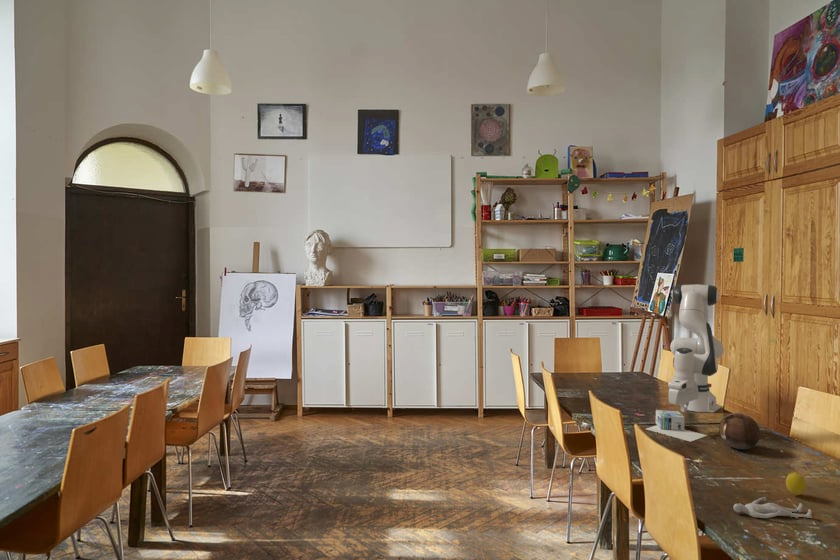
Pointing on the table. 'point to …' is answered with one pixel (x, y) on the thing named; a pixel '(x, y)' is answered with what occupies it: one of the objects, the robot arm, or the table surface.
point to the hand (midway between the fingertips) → (684, 411)
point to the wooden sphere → (739, 431)
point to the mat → (678, 433)
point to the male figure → (769, 510)
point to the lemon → (795, 483)
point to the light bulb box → (670, 420)
